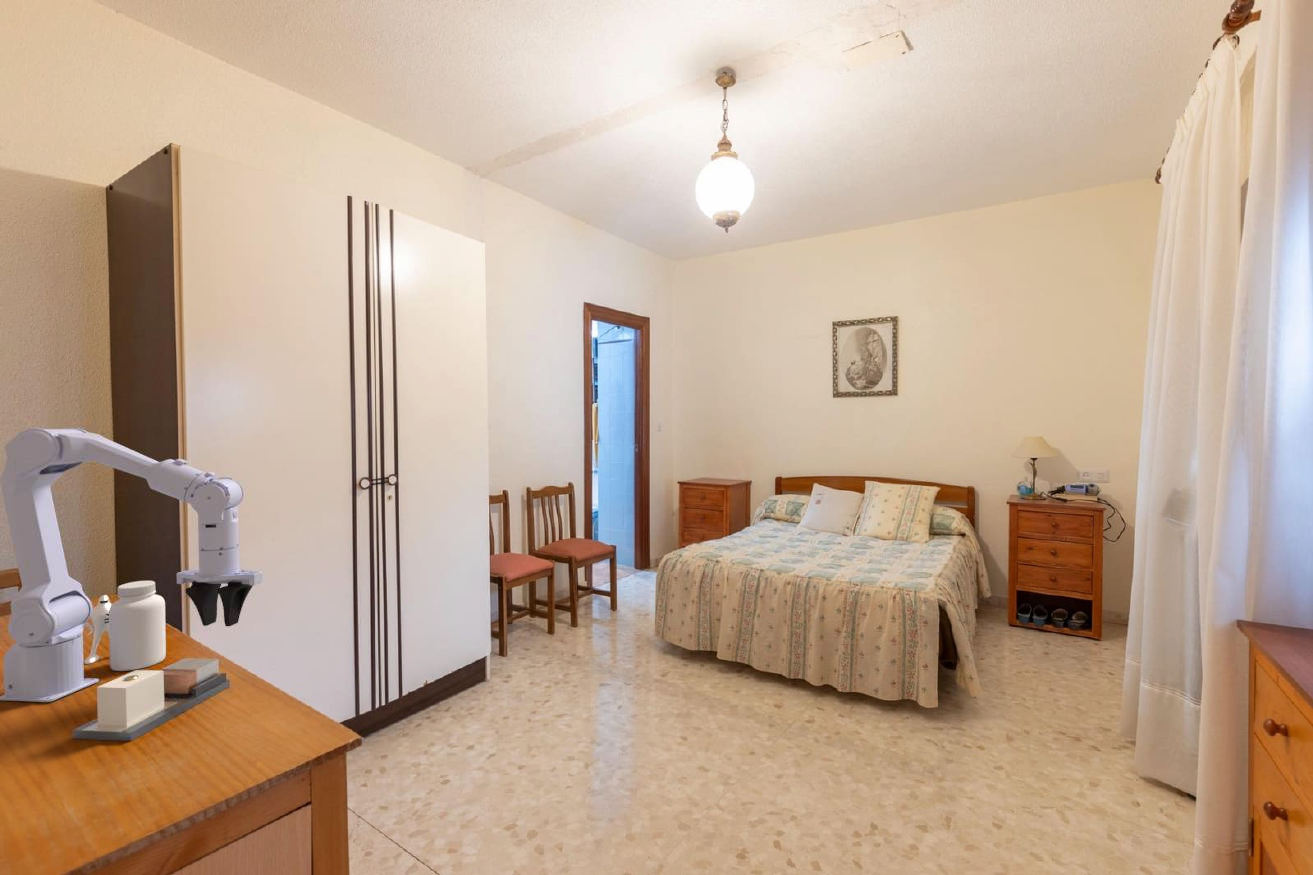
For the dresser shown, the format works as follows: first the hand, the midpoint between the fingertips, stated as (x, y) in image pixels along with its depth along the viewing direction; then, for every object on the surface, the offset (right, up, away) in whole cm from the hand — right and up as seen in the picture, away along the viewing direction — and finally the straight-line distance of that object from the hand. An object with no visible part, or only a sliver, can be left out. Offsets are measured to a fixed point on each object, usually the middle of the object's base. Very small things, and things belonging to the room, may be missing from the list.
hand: (220, 624), depth 105 cm
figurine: (-29, -10, +9) cm, 32 cm away
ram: (-1, -8, -7) cm, 11 cm away
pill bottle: (-20, -10, +6) cm, 23 cm away
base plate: (-1, -10, -12) cm, 15 cm away
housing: (-1, -9, -16) cm, 18 cm away
